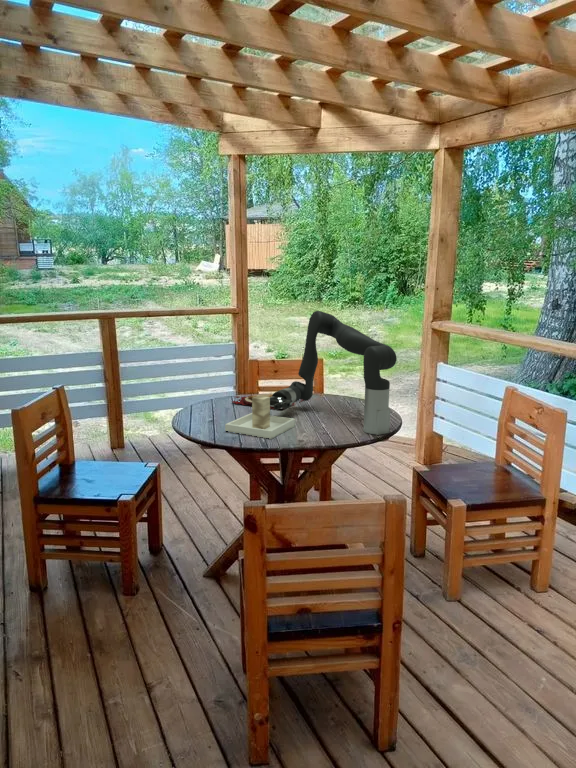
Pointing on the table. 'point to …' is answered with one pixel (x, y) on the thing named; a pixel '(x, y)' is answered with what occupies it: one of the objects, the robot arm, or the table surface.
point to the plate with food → (249, 399)
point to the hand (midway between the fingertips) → (265, 406)
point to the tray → (275, 429)
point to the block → (261, 412)
